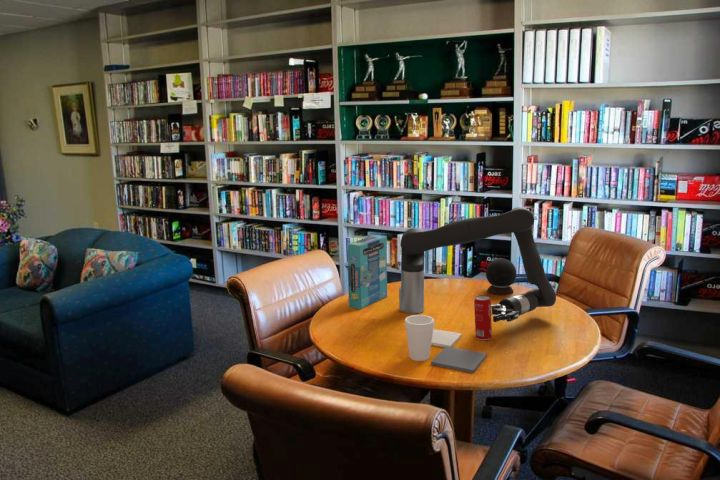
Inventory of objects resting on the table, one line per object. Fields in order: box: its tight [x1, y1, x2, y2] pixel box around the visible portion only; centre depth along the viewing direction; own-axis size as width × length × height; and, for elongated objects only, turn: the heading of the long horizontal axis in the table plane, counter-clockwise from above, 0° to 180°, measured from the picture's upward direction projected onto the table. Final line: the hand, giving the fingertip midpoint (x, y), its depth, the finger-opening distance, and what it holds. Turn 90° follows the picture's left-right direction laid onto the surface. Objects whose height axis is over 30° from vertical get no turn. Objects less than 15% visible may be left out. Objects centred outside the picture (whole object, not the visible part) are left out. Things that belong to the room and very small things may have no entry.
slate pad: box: [430, 346, 488, 374], centre depth 190 cm, size 14×14×1 cm
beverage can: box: [473, 295, 493, 341], centre depth 207 cm, size 6×6×15 cm
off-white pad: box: [431, 328, 463, 348], centre depth 208 cm, size 12×12×1 cm
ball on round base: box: [485, 257, 517, 296], centre depth 259 cm, size 13×13×15 cm
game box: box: [347, 234, 388, 310], centre depth 247 cm, size 20×6×27 cm, turn 144°
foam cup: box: [404, 314, 435, 362], centre depth 192 cm, size 10×9×13 cm
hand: (484, 316), depth 207 cm, fingers open, 8 cm apart
